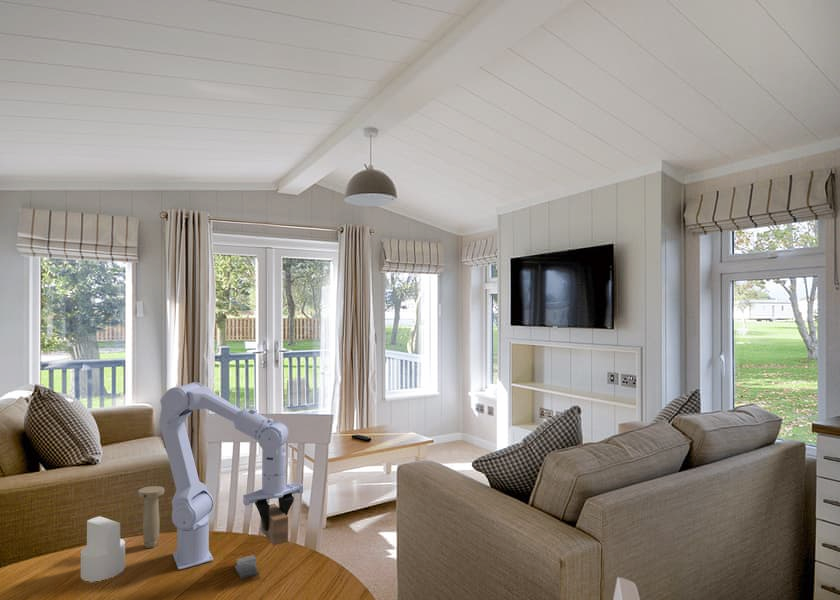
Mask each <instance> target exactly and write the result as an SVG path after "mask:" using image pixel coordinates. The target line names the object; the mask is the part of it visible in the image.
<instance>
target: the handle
mask: <svg viewBox="0 0 840 600" xmlns="http://www.w3.org/2000/svg"><path fill="white" fill-rule="evenodd" d="M164 494H165V487H163V486H159V485H153V486H145V487H142V488H140V489H138V491H137V496H138V497H140V498H141V499H143V503H144V504H143V517H142V536H143V545H144V547H145V549H151V548H155V547H156V546H158V545H159V536H160V527H161V526H160V524H161V523H160V522H161V520H160V511H159V509H160V507H159V498H160V497H161V496H163V495H164Z"/></svg>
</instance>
